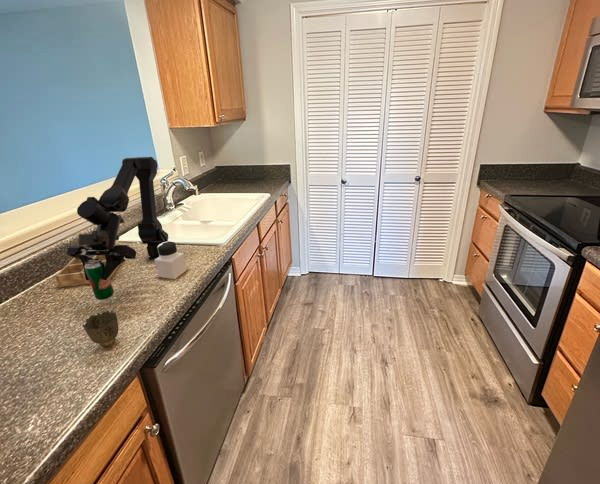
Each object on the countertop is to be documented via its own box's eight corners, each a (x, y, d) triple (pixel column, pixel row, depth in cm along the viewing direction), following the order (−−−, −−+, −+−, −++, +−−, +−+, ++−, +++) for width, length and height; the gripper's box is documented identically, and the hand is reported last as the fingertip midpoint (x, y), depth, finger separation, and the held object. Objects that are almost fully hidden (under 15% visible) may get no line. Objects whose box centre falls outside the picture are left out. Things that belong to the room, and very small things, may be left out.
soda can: (106, 301, 96) (93, 266, 91) (91, 300, 97) (78, 265, 92) (118, 292, 101) (106, 258, 96) (104, 290, 102) (92, 257, 97)
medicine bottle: (187, 270, 120) (181, 240, 115) (174, 279, 113) (167, 248, 109) (171, 267, 122) (164, 238, 117) (158, 277, 116) (150, 246, 111)
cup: (100, 335, 87) (91, 311, 84) (128, 332, 88) (120, 308, 85) (86, 355, 81) (76, 329, 77) (116, 352, 81) (107, 327, 78)
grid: (122, 261, 129) (119, 250, 127) (109, 280, 115) (105, 269, 113) (78, 266, 127) (74, 256, 125) (59, 287, 112) (54, 276, 110)
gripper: (58, 221, 94) (43, 273, 88) (120, 219, 92) (108, 272, 87) (85, 235, 104) (73, 282, 99) (141, 234, 103) (131, 282, 97)
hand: (95, 280), depth 95 cm, fingers closed on soda can, 5 cm apart
